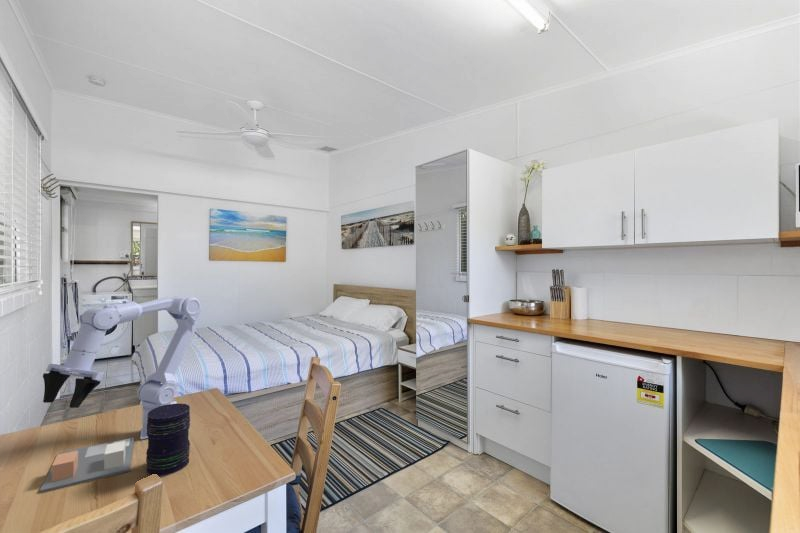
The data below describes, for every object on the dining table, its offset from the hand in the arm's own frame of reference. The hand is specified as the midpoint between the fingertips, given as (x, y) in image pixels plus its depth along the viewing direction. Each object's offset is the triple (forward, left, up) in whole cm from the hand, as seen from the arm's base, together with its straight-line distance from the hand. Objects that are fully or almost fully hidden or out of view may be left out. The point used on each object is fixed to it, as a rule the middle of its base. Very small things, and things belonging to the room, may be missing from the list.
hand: (60, 404), depth 93 cm
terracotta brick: (-1, +2, -17) cm, 17 cm away
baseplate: (-6, -2, -18) cm, 19 cm away
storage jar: (-23, +10, -18) cm, 31 cm away
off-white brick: (-11, +2, -17) cm, 21 cm away
